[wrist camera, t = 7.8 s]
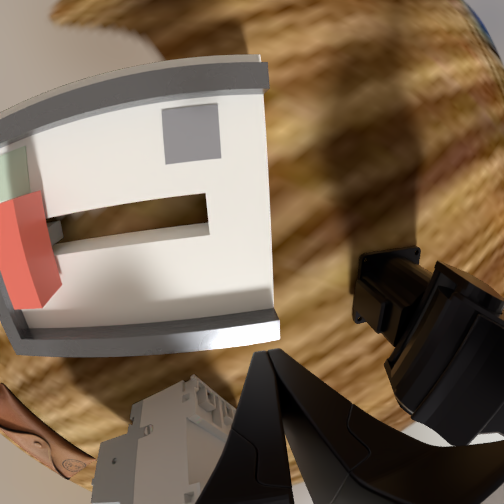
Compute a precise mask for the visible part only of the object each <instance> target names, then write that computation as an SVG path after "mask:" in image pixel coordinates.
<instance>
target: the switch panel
mask: <svg viewBox="0 0 504 504" xmlns="http://www.w3.org/2000/svg"><path fill="white" fill-rule="evenodd" d="M231 62H261V57H260V55H218V56H203V57H192V58H183V59H175V60H167V61H161V62H154V63H149V64H143V65H138V66H133V67H128V68H124V69H119V70H115V71H111V72H108V73H103V74H99V75H96V76H92V77H89V78H85V79H82V80H79V81H76V82H72V83H70V84H66V85H64V86H61V87H58V88H55V89H53V90H50V91H48V92H45V93H42V94H40V95H37V96H35V97H32V98H30V99H28V100H25V101H23V102H21V103H19V104H17V105H15V106H13V107H10V108H8V109H6V110H4V111H2V112H0V119H2V118H4V117H6V116H8V115H10V114H12V113H15V112H17V111H19V110H21V109H23V108H26V107H28V106H30V105H33V104H35V103H38V102H40V101H43V100H45V99H48V98H51V97H53V96H56V95H59V94H62V93H65V92H68V91H71V90H74V89H77V88H80V87H84V86H87V85H90V84H94V83H98V82H101V81H105V80H109V79H113V78H118V77H122V76H127V75H131V74H136V73H141V72H147V71H153V70H159V69H165V68H172V67H180V66H189V65H199V64H212V63H231ZM39 190H41V195H42V202H43V208H44V213H45V218H51V217H56V216H61V215H65V214H70V213H75V212H81V211H86V210H91V209H97V208H103V207H108V206H114V205H120V204H126V203H133V202H139V201H146V200H153V199H160V198H168V197H175V196H183V195H192V194H200V193H206V202H207V212H208V222H209V223H200V224H192V225H184V226H175V227H167V228H160V229H152V230H145V231H137V232H130V233H123V234H116V235H109V236H102V237H96V238H89V239H83V240H76V241H70V242H64V243H58V244H54V245H53V246H52V250H53V253H54V257H55V261H56V265H57V268H58V272H59V275H60V278H61V282H62V286H61V287H60V288H59V289H58V290H57V292H56V293H55V294H54V295H53V296H52V297H51V299H50V300H49V301H48V302H47V303H46V304H45V306H44V307H43V308H38V309H21V310H22V312H23V315H24V317H25V320H26V322H27V324H28V327H29V328H69V327H93V326H111V325H126V324H140V323H152V322H163V321H174V320H184V319H193V318H202V317H210V316H219V315H227V314H234V313H242V312H249V311H256V310H263V309H269V308H274V298H273V268H272V242H271V219H270V198H269V179H268V161H267V143H266V127H265V112H264V97H263V94H251V95H227V96H212V97H201V98H191V99H182V100H174V101H167V102H160V103H154V104H148V105H142V106H137V107H132V108H127V109H122V110H117V111H113V112H108V113H104V114H100V115H96V116H92V117H88V118H85V119H81V120H77V121H74V122H71V123H67V124H64V125H61V126H58V127H55V128H52V129H49V130H46V131H43V132H40V133H37V134H35V135H32V136H29V137H27V138H24V139H22V140H19V141H17V142H14V143H12V144H9V145H7V146H5V147H2V148H0V203H1V202H4V201H7V200H9V199H12V198H15V197H19V196H22V195H25V194H29V193H32V192H36V191H39Z"/></svg>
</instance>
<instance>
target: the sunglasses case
mask: <svg viewBox="0 0 504 504" xmlns="http://www.w3.org/2000/svg"><path fill="white" fill-rule="evenodd" d="M0 429H1V430H2V431H3V432H4V433H5V434H6V435H7V436H8V437H10V438H11V439H12V440H13V441H14V442H15V443H17V444H18V445H19V446H20V447H22V448H23V449H24V450H25V451H27V452H28V453H29V454H31V455H32V456H33V457H35V458H36V459H38V460H39V461H41V462H42V463H44V464H45V465H47V466H48V467H50V468H51V469H53V470H54V471H55V472H57V473H58V474H59V475H60V476H62V477H63V478H65V479H67V480H69V479H70V477H72V476H73V475H75V474H76V473H77V472H79V471H80V470H82V469H83V468H84V467H86V466H87V465H88V464H90V463H91V462H92V461H97V460H96V459H95V458H93V457H92V456H90V455H88V454H86V453H85V452H83V451H81V450H80V449H78V448H77V447H75V446H74V445H72V444H71V443H69V442H68V441H66V440H65V439H64V438H62V437H61V436H60V435H58V434H57V433H56V432H54V431H53V430H52V429H51V428H49V427H48V426H47V425H46V424H44V423H43V422H42V421H41V420H40V419H39V418H37V417H36V416H35V415H34V414H33V413H32V412H31V411H29V410H28V409H27V408H26V407H25V406H24V405H23V404H22V403H21V402H20V401H19V400H18V399H17V398H16V397H15V396H14V395H13V394H12V392H11V391H10V390H9V389H8V388H7V387H6V386H5V385H4V384H2V383H0Z"/></svg>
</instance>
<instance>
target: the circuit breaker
mask: <svg viewBox="0 0 504 504" xmlns="http://www.w3.org/2000/svg"><path fill="white" fill-rule="evenodd" d="M190 378H191V380H189V381H187V382H184V381H183V380H182V381H180V382H178V383H176V384H174V385H172V386H170V387H168V388H166V389H164V390H162V391H160V392H158V393H156V394H154V395H152V396H150V397H148V398H146V399H144V400H141V401H139V402H137V403H135V404H133V405H132V409H131V415H130V419H131V420H132V421H133V424H132V425H130V424H129V427H128V433H127V434H124V435H122V436H119V437H116V438H113V439H110V440H107V441H104V442H101V444H100V449H99V454H98V459H97V465H96V471H95V477H94V479H92V484H91V485H93V490H92V498H91V503H92V504H195V502H196V501H197V499H198V497H199V495H200V494H201V492H202V490H203V488H204V487H205V485H206V483H207V481H208V479H209V478H210V476H211V474H212V472H213V470H214V468H215V466H216V464H217V462H218V460H219V458H220V456H221V454H222V451H223V449H224V446H225V443H226V441H227V438H228V434H229V431H230V430H231V426H232V422H233V419H234V416H235V413H236V408H234V407H233V406H232V405H230V404H229V403H228V402H227V401H225V400H224V399H223V398H222V397H220V396H219V395H218V394H217V393H216V392H214V391H213V390H212V389H211V388H210V387H208V386H207V385H206V384H205V383H204V382H203V381H201V380H200V379H199V378H198V377H197V376H196V375H195V374H193V375H192V376H190ZM207 392H208V393H209V395H207ZM226 407H227V408H226Z"/></svg>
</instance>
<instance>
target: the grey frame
mask: <svg viewBox="0 0 504 504" xmlns="http://www.w3.org/2000/svg"><path fill="white" fill-rule="evenodd" d="M269 89H270V88H269V74H268V62H231V63H212V64H199V65H189V66H180V67H172V68H165V69H159V70H153V71H147V72H141V73H136V74H131V75H127V76H122V77H118V78H113V79H109V80H105V81H101V82H98V83H94V84H90V85H87V86H84V87H80V88H77V89H74V90H71V91H68V92H65V93H62V94H59V95H56V96H53V97H51V98H48V99H45V100H43V101H40V102H38V103H35V104H33V105H30V106H28V107H26V108H23V109H21V110H19V111H17V112H15V113H12V114H10V115H8V116H6V117H4V118H2V119H0V148H2V147H5V146H7V145H9V144H12V143H14V142H17V141H19V140H22V139H24V138H27V137H29V136H32V135H35V134H37V133H40V132H43V131H46V130H49V129H52V128H55V127H58V126H61V125H64V124H67V123H71V122H74V121H77V120H81V119H85V118H88V117H92V116H96V115H100V114H104V113H108V112H113V111H117V110H122V109H127V108H132V107H137V106H142V105H148V104H154V103H160V102H167V101H174V100H182V99H191V98H201V97H212V96H227V95H251V94H264V93H265V92H266V91H267V90H269ZM0 321H1V324H2V326H3V328H4V330H5V332H6V334H7V337H8V339H9V341H10V343H11V345H12V347H13V349H14V350H15V352H16V354H17V355H28V356H48V357H122V356H143V355H159V354H172V353H183V352H193V351H203V350H212V349H220V348H228V347H235V346H242V345H249V344H256V343H262V342H268V341H274V340H280V320H279V318H278V316H277V314H276V311H275V309H274V308H269V309H263V310H256V311H249V312H242V313H234V314H227V315H219V316H210V317H202V318H193V319H184V320H174V321H163V322H152V323H140V324H126V325H111V326H93V327H69V328H29V327H28V324H27V322H26V320H25V317H24V315H23V312H22V310H21V309H17V310H14V308H13V305H12V302H11V300H10V297H9V294H8V292H7V289H6V286H5V283H4V280H3V277H2V274H1V271H0Z"/></svg>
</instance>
